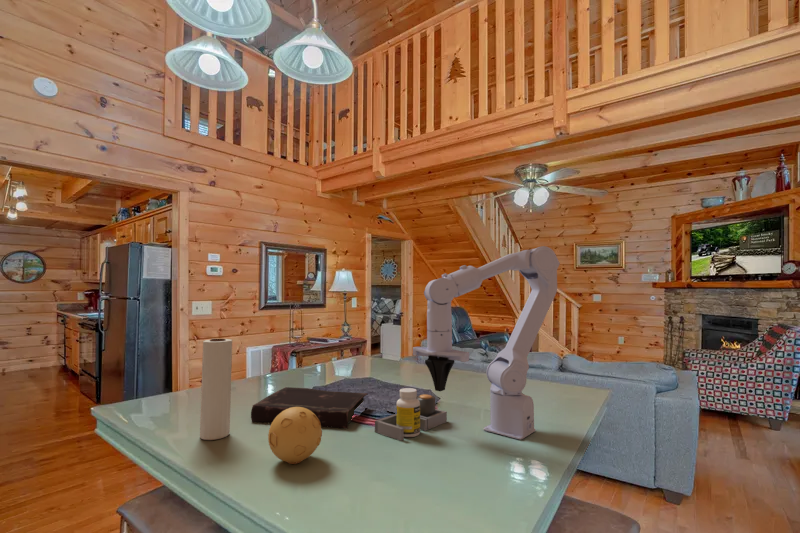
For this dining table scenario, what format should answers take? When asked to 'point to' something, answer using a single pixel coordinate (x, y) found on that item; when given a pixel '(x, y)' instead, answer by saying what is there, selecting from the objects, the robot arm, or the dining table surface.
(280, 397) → the diary
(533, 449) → the dining table surface
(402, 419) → the supplement bottle
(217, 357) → the paper towel roll
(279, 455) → the stress ball
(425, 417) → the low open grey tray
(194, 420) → the dining table surface
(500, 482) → the dining table surface
